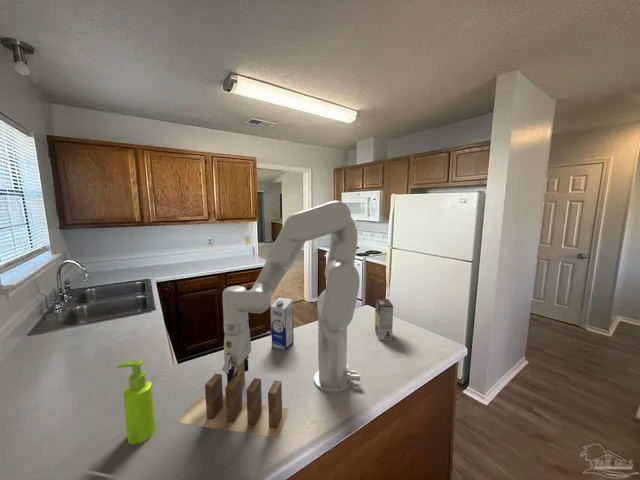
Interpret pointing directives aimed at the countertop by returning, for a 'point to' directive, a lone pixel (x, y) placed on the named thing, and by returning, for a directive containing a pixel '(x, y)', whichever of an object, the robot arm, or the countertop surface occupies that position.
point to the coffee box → (383, 319)
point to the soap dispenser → (138, 404)
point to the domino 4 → (254, 401)
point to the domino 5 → (275, 404)
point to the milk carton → (282, 323)
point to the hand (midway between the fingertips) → (238, 377)
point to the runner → (199, 418)
